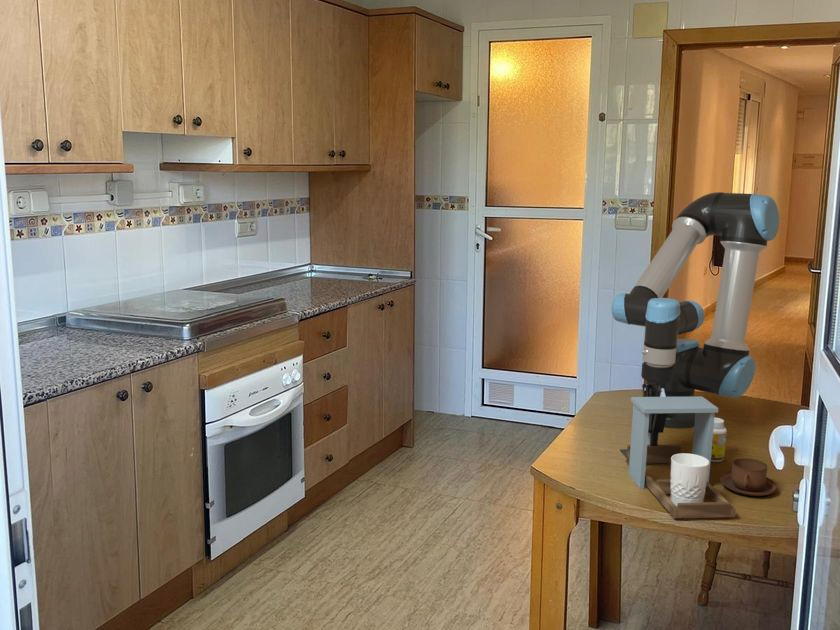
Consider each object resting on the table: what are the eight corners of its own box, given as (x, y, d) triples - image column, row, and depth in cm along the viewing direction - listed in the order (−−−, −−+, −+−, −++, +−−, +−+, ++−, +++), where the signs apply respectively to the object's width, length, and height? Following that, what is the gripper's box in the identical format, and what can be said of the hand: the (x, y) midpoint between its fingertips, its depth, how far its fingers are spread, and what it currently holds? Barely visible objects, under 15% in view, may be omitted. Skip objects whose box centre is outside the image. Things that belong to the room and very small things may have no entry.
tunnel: (625, 474, 198) (631, 397, 194) (695, 473, 199) (702, 396, 195) (638, 489, 189) (644, 409, 185) (711, 488, 190) (718, 408, 187)
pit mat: (619, 450, 213) (620, 449, 213) (658, 449, 214) (658, 448, 214) (632, 465, 204) (632, 464, 203) (672, 464, 204) (672, 463, 204)
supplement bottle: (695, 456, 210) (698, 417, 208) (712, 453, 212) (716, 415, 210) (711, 464, 205) (714, 424, 203) (728, 461, 207) (732, 421, 205)
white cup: (705, 498, 185) (709, 455, 183) (705, 513, 177) (709, 468, 175) (668, 493, 187) (671, 451, 185) (666, 507, 180) (670, 463, 178)
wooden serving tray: (626, 461, 204) (627, 445, 203) (678, 461, 205) (679, 444, 204) (674, 518, 173) (675, 498, 172) (734, 516, 174) (736, 497, 173)
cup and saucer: (781, 502, 184) (784, 476, 182) (724, 498, 186) (727, 472, 184) (768, 481, 195) (771, 456, 194) (715, 477, 197) (717, 452, 196)
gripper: (634, 356, 206) (627, 446, 211) (652, 370, 193) (644, 466, 198) (664, 356, 206) (656, 446, 211) (684, 370, 194) (675, 466, 199)
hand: (650, 456), depth 205 cm, fingers closed
